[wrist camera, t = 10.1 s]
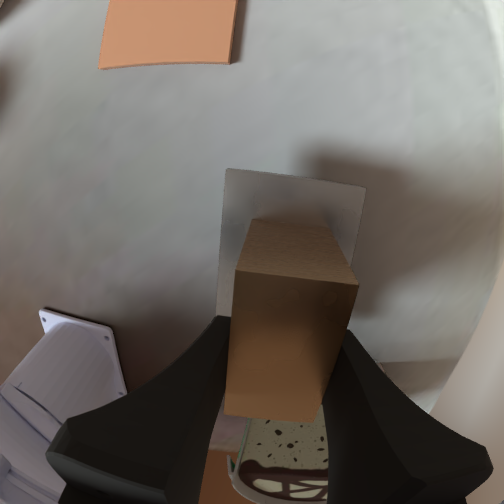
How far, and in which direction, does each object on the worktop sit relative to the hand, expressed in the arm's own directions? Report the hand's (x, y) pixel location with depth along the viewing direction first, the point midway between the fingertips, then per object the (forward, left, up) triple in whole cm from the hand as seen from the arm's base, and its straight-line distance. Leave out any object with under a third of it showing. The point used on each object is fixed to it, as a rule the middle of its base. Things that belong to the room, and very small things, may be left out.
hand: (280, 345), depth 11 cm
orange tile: (+11, +8, -8) cm, 16 cm away
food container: (-12, -5, -9) cm, 16 cm away
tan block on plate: (0, 0, -5) cm, 5 cm away
